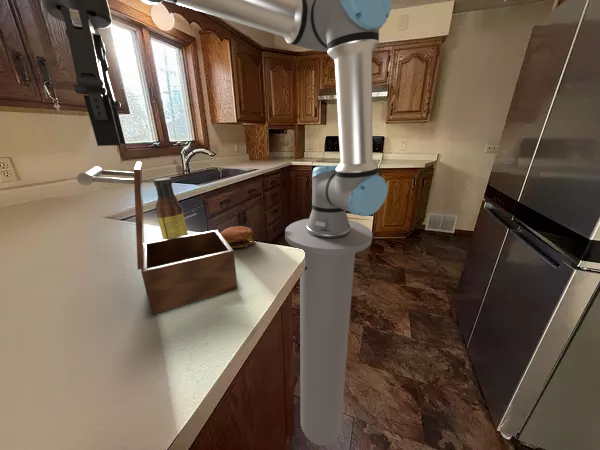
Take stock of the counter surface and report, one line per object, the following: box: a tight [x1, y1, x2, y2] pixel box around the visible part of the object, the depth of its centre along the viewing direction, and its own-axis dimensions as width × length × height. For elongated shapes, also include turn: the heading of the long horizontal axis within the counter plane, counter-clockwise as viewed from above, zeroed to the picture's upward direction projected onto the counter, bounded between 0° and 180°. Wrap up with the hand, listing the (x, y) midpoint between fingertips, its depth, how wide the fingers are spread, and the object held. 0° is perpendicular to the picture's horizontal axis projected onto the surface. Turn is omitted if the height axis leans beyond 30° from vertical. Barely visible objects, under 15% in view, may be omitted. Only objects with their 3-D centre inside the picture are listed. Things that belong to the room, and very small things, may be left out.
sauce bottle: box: [153, 177, 189, 240], centre depth 66 cm, size 6×6×20 cm
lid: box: [76, 161, 145, 270], centre depth 42 cm, size 16×14×8 cm
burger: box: [220, 225, 254, 249], centre depth 72 cm, size 10×9×5 cm
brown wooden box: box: [140, 229, 239, 315], centre depth 51 cm, size 16×14×9 cm
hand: (113, 144), depth 42 cm, fingers open, 13 cm apart
